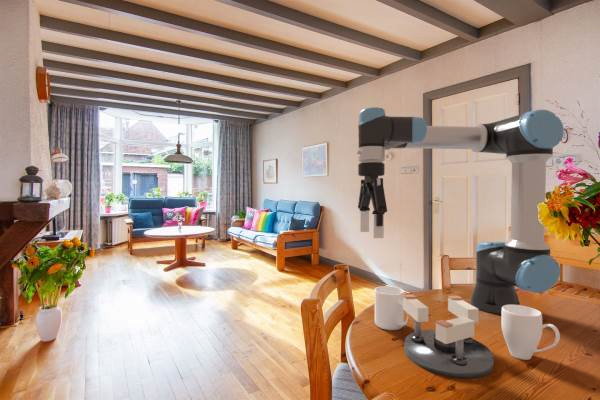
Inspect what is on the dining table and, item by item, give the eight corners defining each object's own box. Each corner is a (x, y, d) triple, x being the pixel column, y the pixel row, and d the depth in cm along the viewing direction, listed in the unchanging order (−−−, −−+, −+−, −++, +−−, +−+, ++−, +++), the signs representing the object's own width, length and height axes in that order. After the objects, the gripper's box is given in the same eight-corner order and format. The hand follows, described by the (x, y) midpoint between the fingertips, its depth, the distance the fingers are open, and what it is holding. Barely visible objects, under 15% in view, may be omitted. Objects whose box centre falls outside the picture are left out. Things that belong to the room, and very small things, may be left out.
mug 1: (396, 338, 90) (397, 299, 90) (368, 322, 101) (368, 288, 101) (418, 331, 94) (419, 295, 94) (389, 317, 105) (389, 284, 105)
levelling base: (461, 335, 92) (461, 316, 92) (514, 375, 72) (514, 351, 72) (392, 338, 90) (392, 319, 90) (427, 380, 70) (427, 355, 70)
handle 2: (478, 342, 81) (478, 307, 81) (467, 342, 81) (468, 307, 80) (457, 327, 90) (457, 295, 90) (447, 327, 90) (448, 295, 89)
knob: (463, 351, 76) (463, 314, 76) (473, 357, 74) (474, 318, 73) (435, 360, 72) (435, 320, 72) (445, 366, 70) (446, 325, 70)
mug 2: (494, 352, 82) (495, 308, 82) (510, 344, 86) (511, 302, 86) (550, 375, 72) (551, 324, 72) (565, 365, 76) (567, 316, 76)
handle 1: (428, 340, 82) (428, 305, 82) (417, 341, 82) (417, 306, 81) (412, 325, 91) (412, 294, 91) (402, 326, 91) (403, 294, 90)
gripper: (348, 165, 107) (348, 229, 108) (371, 158, 82) (371, 241, 83) (371, 165, 108) (370, 229, 109) (400, 158, 83) (399, 241, 84)
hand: (370, 234), depth 96 cm, fingers open, 13 cm apart
